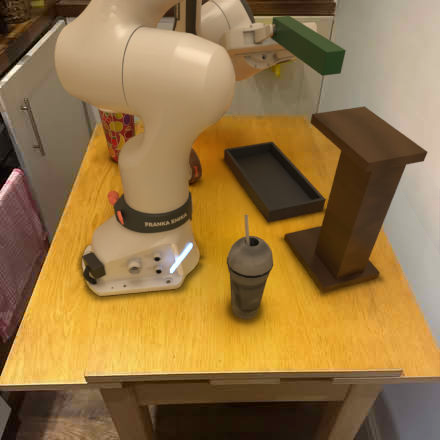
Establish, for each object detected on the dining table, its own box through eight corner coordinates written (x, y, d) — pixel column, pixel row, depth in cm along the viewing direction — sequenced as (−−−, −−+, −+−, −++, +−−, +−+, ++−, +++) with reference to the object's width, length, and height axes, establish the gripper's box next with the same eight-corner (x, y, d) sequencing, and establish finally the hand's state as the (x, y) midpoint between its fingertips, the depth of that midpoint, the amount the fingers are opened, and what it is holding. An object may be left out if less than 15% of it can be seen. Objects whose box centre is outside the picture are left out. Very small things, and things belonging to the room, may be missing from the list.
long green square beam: (322, 76, 66) (326, 52, 64) (270, 38, 79) (272, 16, 76) (340, 73, 67) (346, 50, 64) (286, 36, 80) (289, 15, 77)
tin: (203, 186, 97) (203, 153, 91) (192, 190, 96) (191, 157, 90) (172, 158, 106) (169, 126, 99) (161, 161, 104) (158, 130, 98)
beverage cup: (262, 329, 69) (277, 236, 54) (220, 321, 69) (224, 228, 55) (268, 297, 73) (283, 205, 59) (228, 291, 74) (233, 198, 60)
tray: (268, 222, 88) (269, 210, 86) (223, 160, 106) (224, 149, 103) (323, 210, 92) (325, 199, 89) (271, 152, 109) (272, 141, 107)
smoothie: (108, 149, 108) (93, 68, 93) (140, 148, 109) (130, 67, 94) (106, 166, 102) (89, 82, 88) (139, 165, 103) (128, 81, 88)
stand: (322, 293, 75) (362, 164, 55) (284, 239, 85) (306, 114, 65) (377, 278, 78) (433, 150, 58) (334, 228, 88) (369, 105, 68)
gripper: (209, 35, 85) (231, 12, 73) (296, 28, 90) (331, 4, 78) (214, 69, 87) (236, 51, 75) (299, 59, 92) (333, 42, 80)
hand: (285, 27), depth 76 cm, fingers closed on long green square beam, 3 cm apart
